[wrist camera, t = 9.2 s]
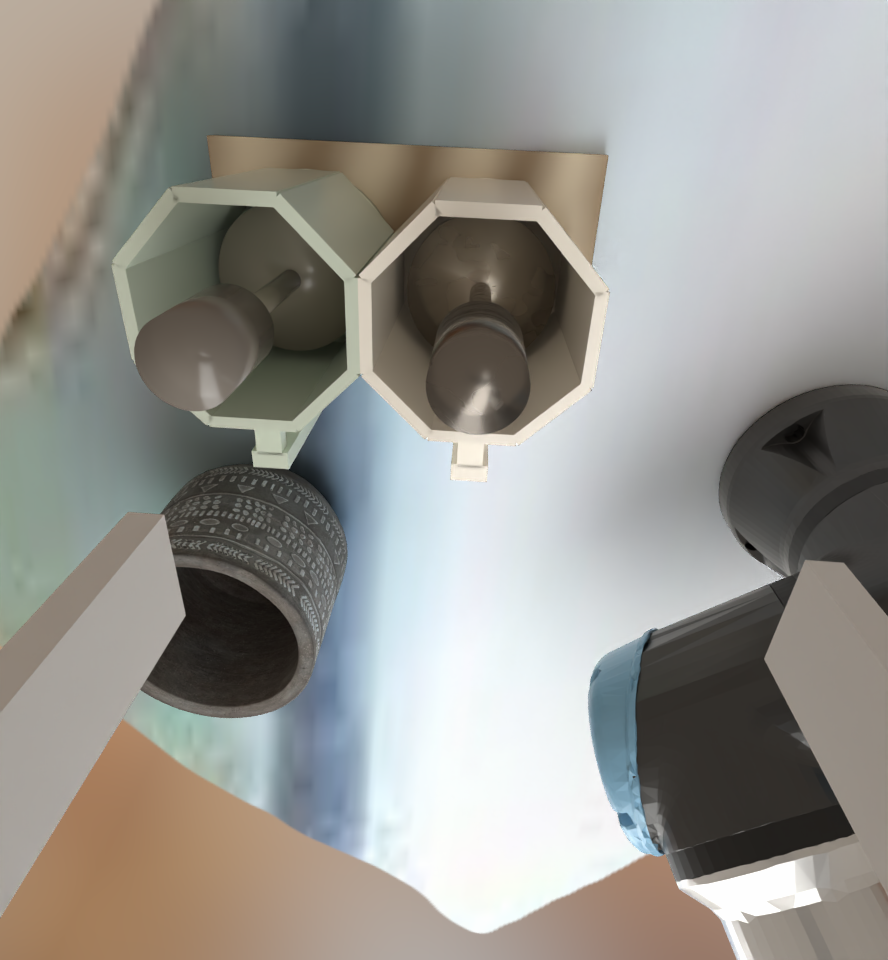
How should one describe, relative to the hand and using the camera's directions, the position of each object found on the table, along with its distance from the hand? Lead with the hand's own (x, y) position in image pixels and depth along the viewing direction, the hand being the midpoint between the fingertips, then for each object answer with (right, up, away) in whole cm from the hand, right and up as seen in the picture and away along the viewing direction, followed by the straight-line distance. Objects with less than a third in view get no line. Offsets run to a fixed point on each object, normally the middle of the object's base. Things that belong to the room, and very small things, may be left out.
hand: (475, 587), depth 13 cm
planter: (-15, -1, +39) cm, 42 cm away
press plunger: (+1, +13, +23) cm, 26 cm away
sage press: (-9, +15, +28) cm, 33 cm away
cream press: (+2, +14, +28) cm, 32 cm away
